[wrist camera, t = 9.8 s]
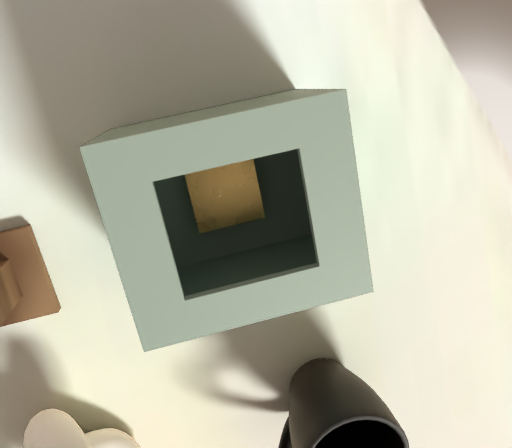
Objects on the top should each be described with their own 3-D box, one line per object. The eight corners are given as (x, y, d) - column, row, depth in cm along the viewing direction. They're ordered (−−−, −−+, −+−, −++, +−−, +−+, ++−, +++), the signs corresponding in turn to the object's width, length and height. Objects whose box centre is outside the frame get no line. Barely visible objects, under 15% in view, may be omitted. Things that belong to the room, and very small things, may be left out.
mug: (226, 417, 42) (239, 507, 33) (323, 327, 41) (364, 394, 32) (286, 463, 45) (314, 559, 36) (379, 379, 44) (431, 455, 35)
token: (198, 225, 36) (199, 233, 34) (182, 163, 35) (182, 167, 33) (260, 210, 37) (265, 217, 35) (247, 148, 35) (251, 151, 33)
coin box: (153, 278, 37) (143, 352, 27) (109, 129, 34) (79, 147, 23) (320, 237, 39) (373, 291, 28) (296, 88, 35) (346, 89, 25)
